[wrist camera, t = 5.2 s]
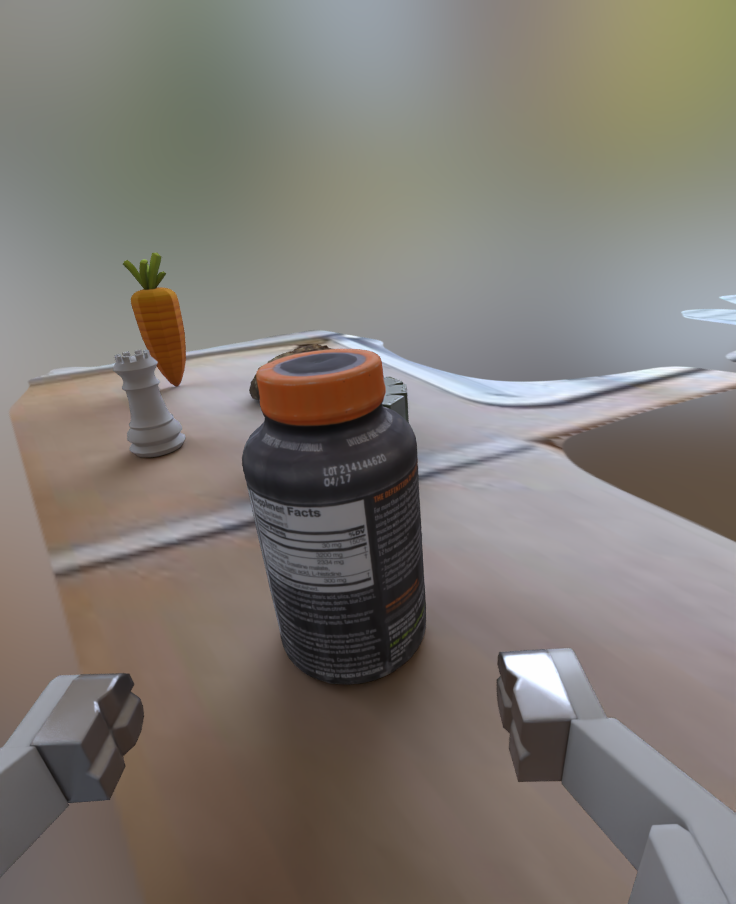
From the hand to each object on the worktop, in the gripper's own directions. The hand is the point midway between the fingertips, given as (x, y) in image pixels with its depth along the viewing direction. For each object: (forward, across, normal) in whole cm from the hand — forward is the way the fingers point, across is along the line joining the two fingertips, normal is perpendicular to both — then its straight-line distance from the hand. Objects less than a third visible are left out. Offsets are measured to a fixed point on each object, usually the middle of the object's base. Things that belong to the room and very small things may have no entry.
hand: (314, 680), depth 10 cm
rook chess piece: (+29, +17, +6) cm, 34 cm away
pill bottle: (+7, 0, +6) cm, 10 cm away
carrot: (+48, +23, +6) cm, 54 cm away
